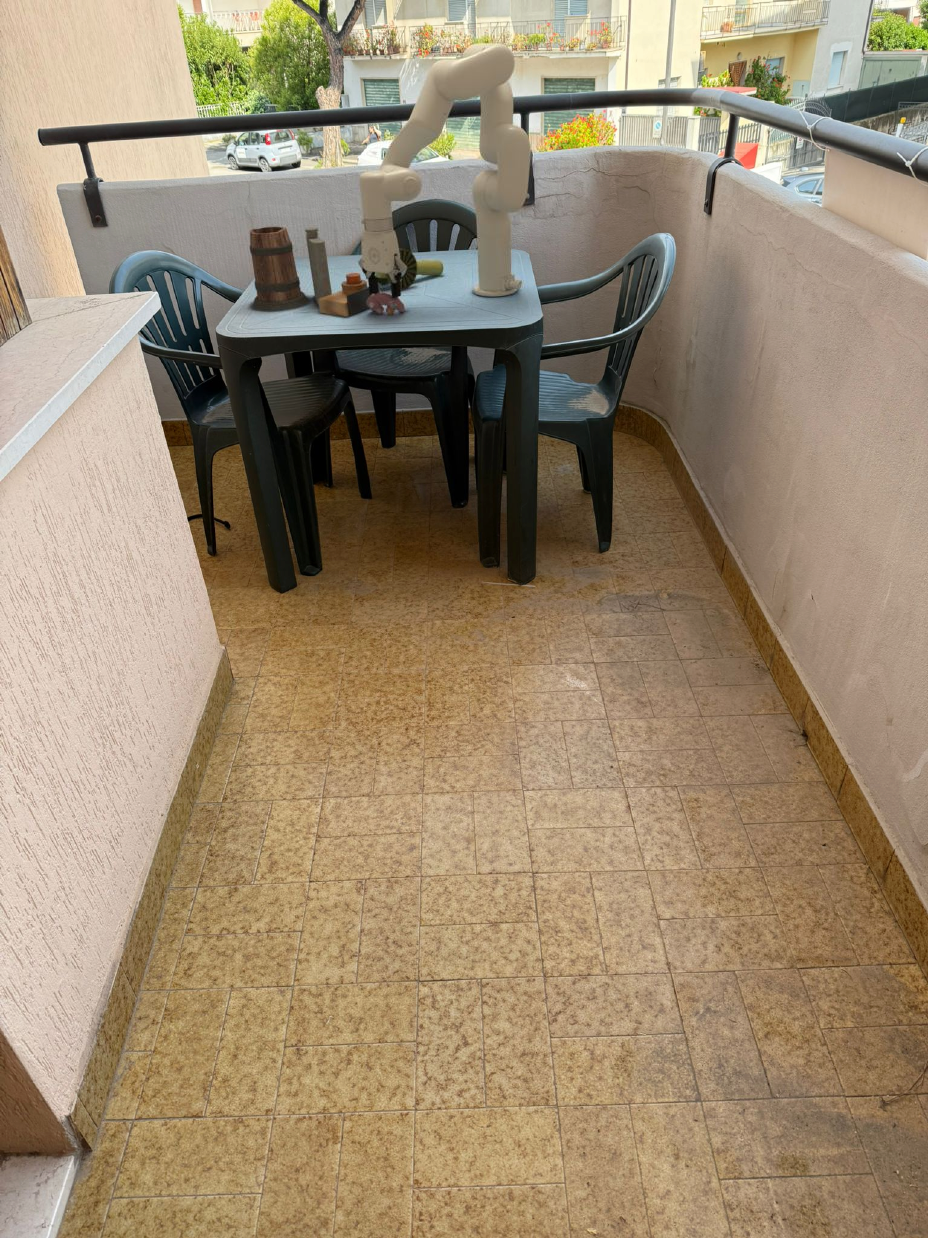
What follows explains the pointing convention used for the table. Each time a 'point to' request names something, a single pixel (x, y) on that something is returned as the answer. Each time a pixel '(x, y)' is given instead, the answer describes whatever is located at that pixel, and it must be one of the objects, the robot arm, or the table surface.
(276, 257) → the tankard
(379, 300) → the pink lumpy mass
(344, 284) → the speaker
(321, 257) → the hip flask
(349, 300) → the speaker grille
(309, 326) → the table surface
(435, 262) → the cannon
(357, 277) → the power button
